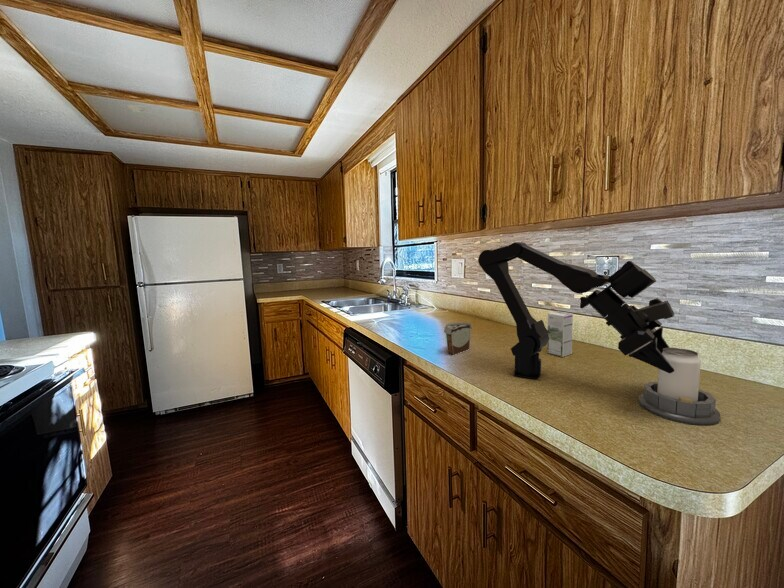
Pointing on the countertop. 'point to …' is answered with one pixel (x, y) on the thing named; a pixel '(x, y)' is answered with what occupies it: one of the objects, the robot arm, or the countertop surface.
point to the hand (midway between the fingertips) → (673, 366)
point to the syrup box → (560, 333)
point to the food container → (458, 337)
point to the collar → (680, 406)
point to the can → (680, 374)
